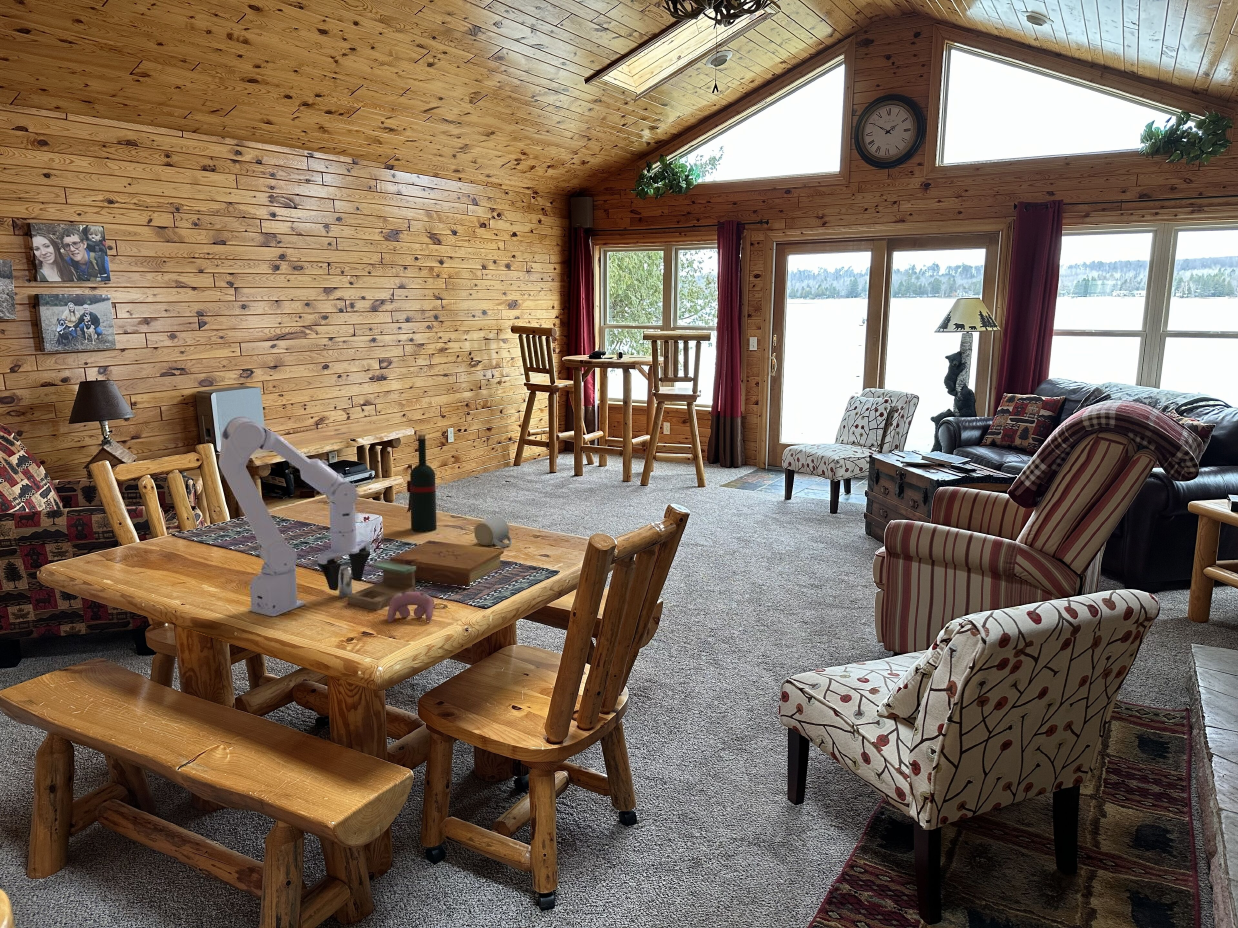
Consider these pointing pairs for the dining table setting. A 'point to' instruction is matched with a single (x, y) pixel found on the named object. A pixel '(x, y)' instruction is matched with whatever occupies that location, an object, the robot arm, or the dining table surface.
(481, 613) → the dining table surface
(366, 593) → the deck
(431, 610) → the video game controller
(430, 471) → the wine bottle
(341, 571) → the peg
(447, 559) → the diary
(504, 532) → the ceramic mug
